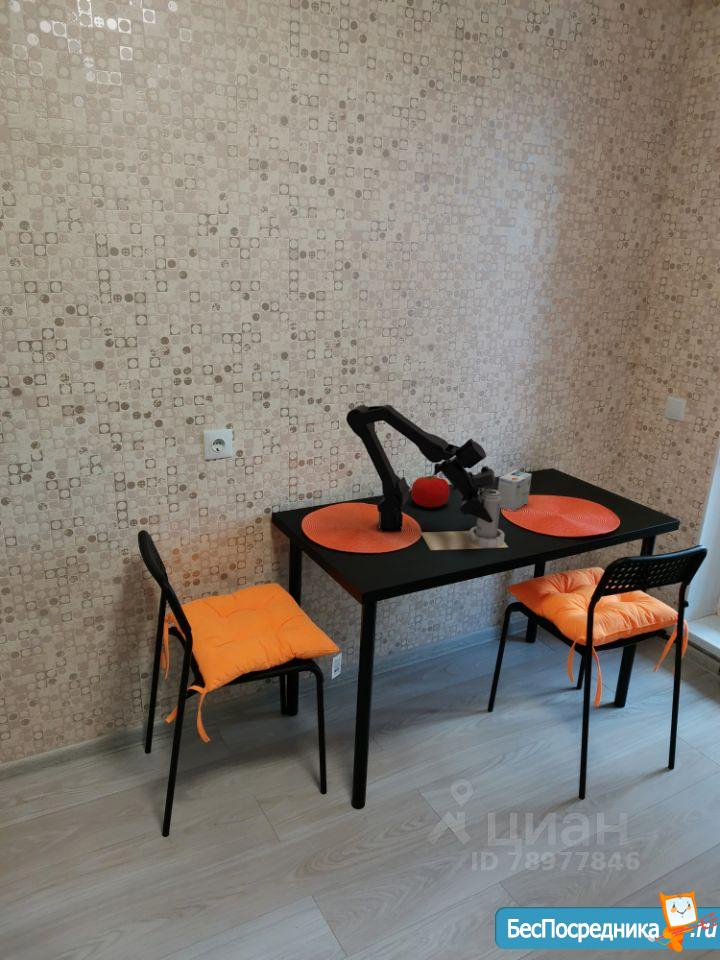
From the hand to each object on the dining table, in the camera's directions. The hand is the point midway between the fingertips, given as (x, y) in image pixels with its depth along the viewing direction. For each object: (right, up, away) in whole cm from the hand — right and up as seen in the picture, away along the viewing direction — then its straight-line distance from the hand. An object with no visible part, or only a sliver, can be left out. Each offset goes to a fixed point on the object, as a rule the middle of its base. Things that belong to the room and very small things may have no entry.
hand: (492, 518), depth 212 cm
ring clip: (-1, -7, +3) cm, 7 cm away
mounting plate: (-8, -8, +3) cm, 11 cm away
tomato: (-15, +2, +30) cm, 34 cm away
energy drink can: (-2, -7, +3) cm, 7 cm away
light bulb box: (+12, +2, +33) cm, 36 cm away
